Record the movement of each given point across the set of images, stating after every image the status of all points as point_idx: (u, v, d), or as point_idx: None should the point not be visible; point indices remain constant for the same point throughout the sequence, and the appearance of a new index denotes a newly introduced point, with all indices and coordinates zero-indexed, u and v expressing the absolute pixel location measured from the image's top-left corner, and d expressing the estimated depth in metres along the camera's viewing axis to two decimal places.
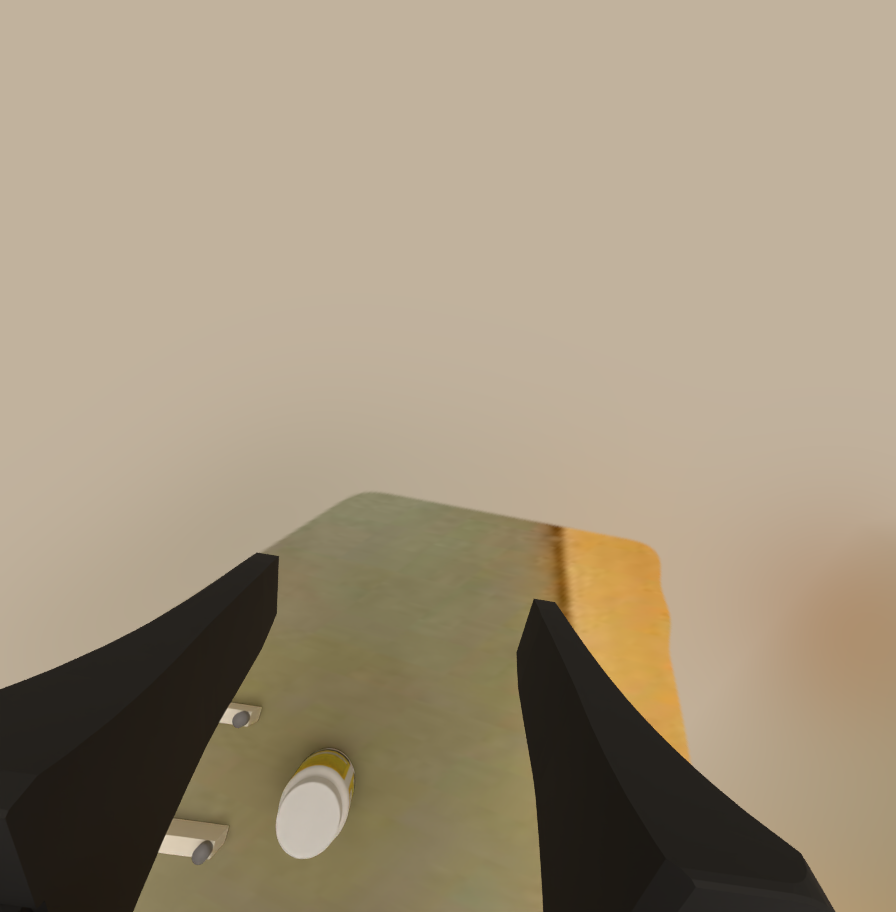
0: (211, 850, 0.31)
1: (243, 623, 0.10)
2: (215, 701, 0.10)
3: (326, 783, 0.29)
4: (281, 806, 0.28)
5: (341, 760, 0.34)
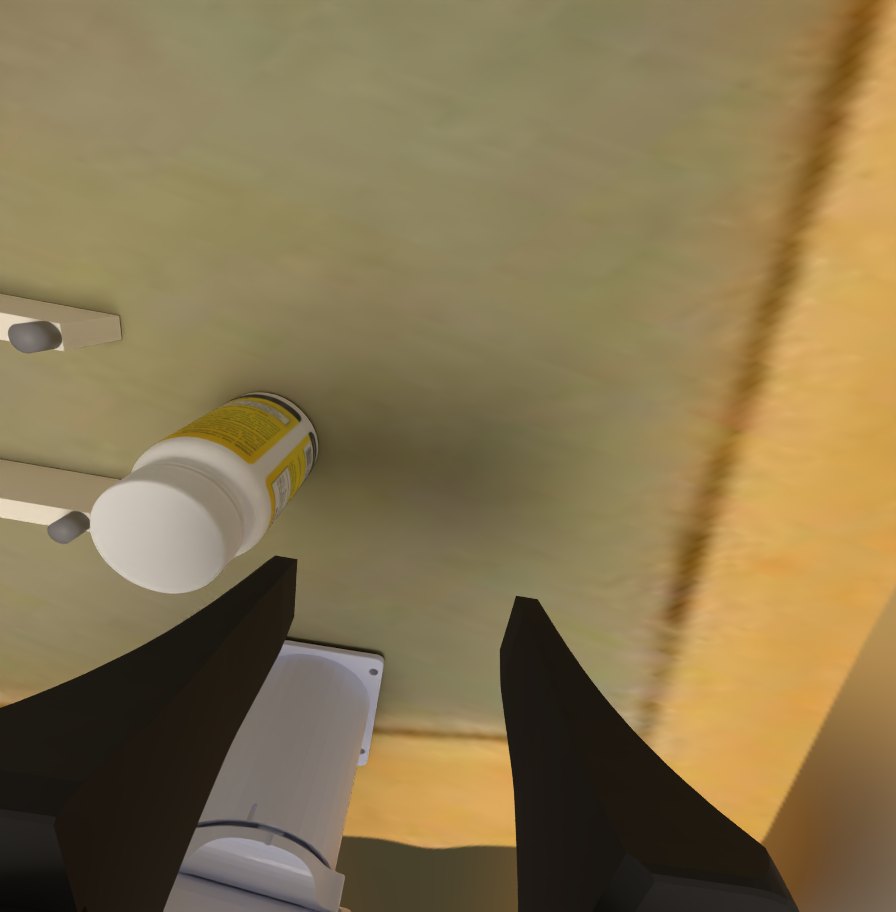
0: (86, 524, 0.19)
1: (264, 626, 0.10)
2: (238, 704, 0.10)
3: (183, 482, 0.13)
4: (91, 517, 0.13)
5: (270, 419, 0.18)
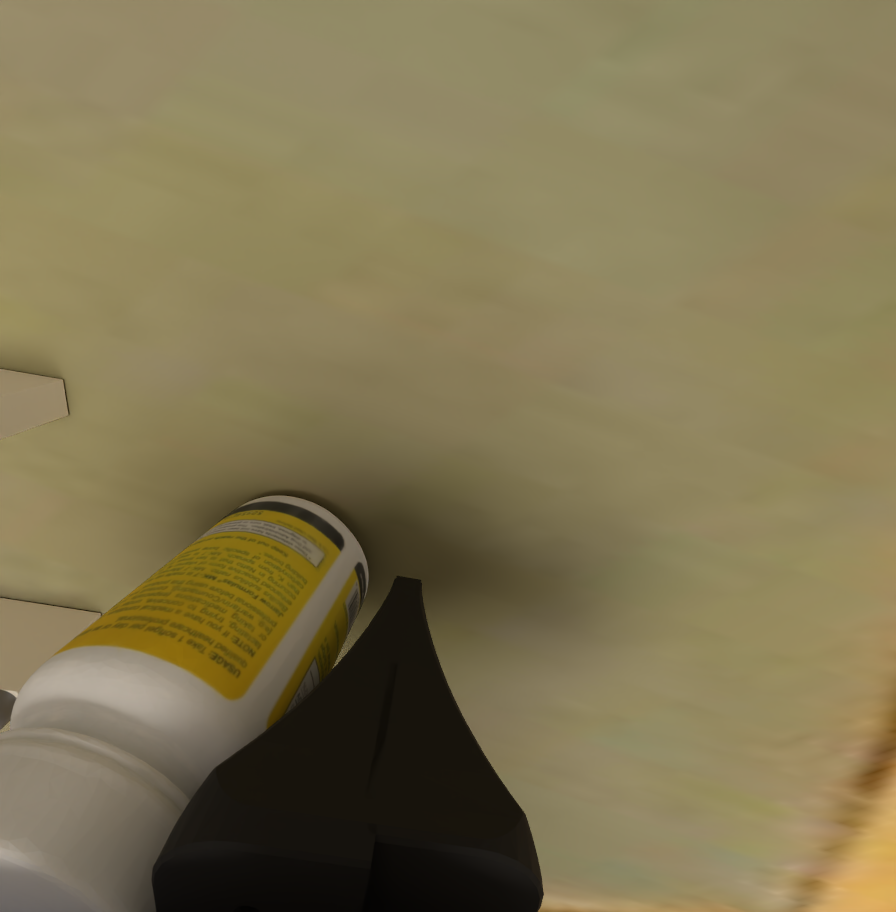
0: (11, 710, 0.12)
1: None
2: None
3: (58, 822, 0.05)
4: None
5: (292, 561, 0.10)
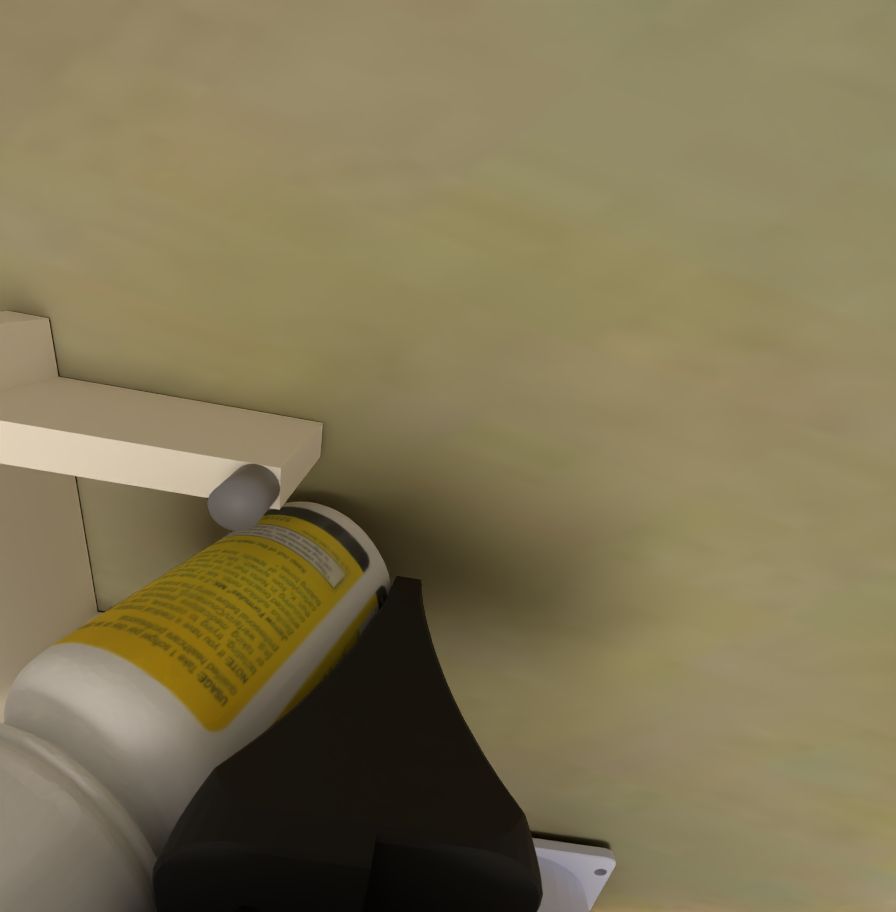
0: None
1: None
2: None
3: None
4: None
5: (308, 578, 0.10)
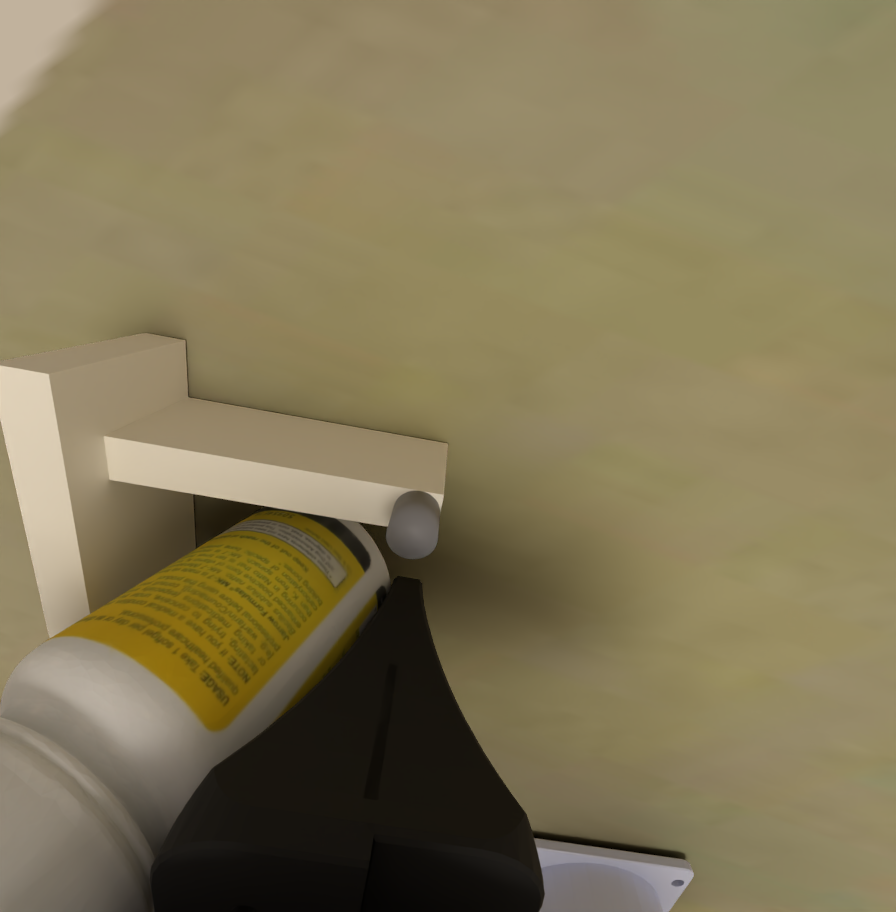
0: None
1: None
2: None
3: None
4: None
5: (311, 577, 0.10)
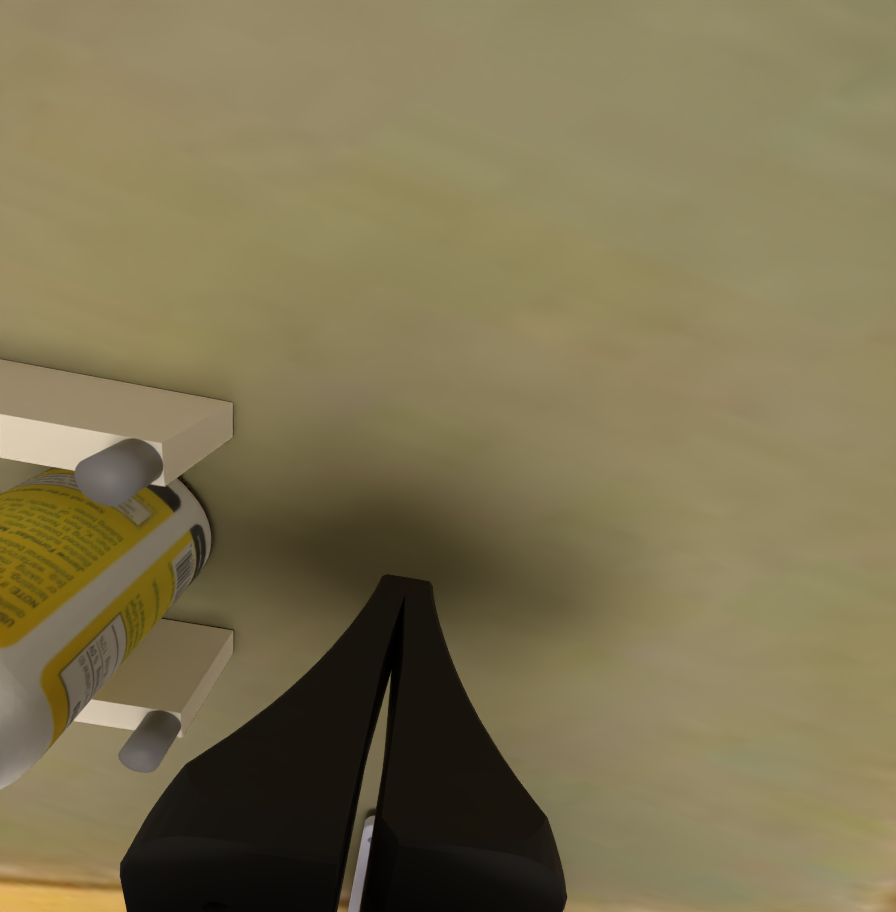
0: (175, 732, 0.12)
1: (392, 647, 0.10)
2: (373, 725, 0.10)
3: None
4: None
5: (108, 518, 0.10)
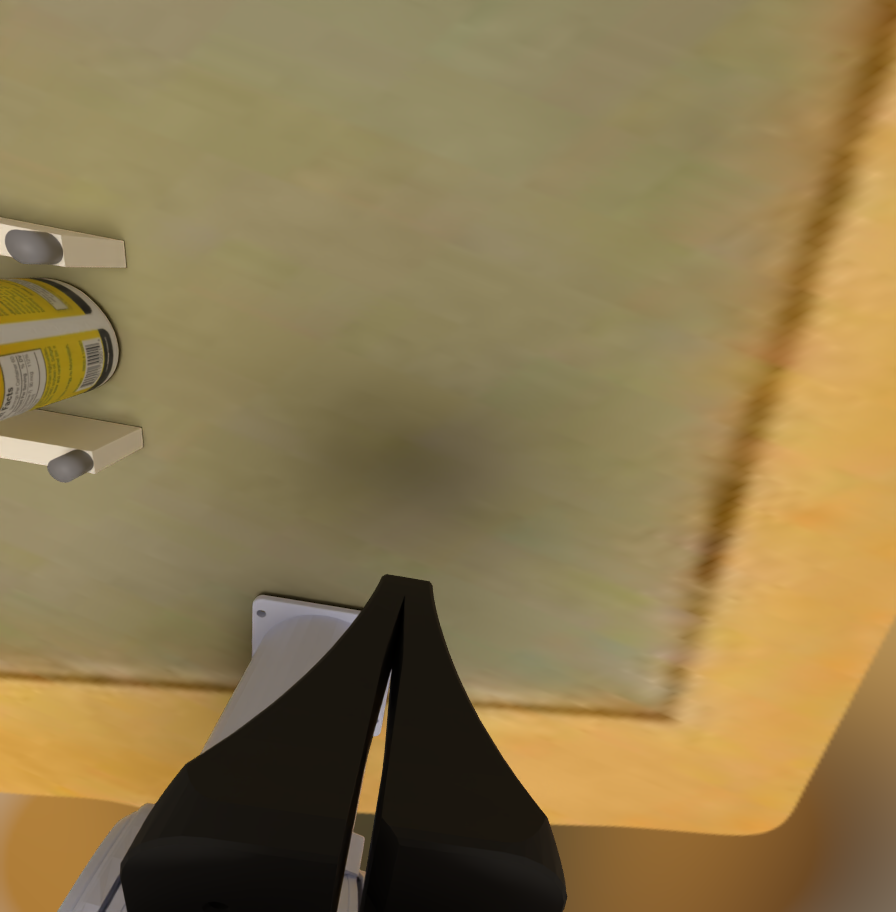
0: (88, 463, 0.18)
1: (391, 647, 0.10)
2: (373, 725, 0.10)
3: None
4: None
5: (35, 298, 0.16)
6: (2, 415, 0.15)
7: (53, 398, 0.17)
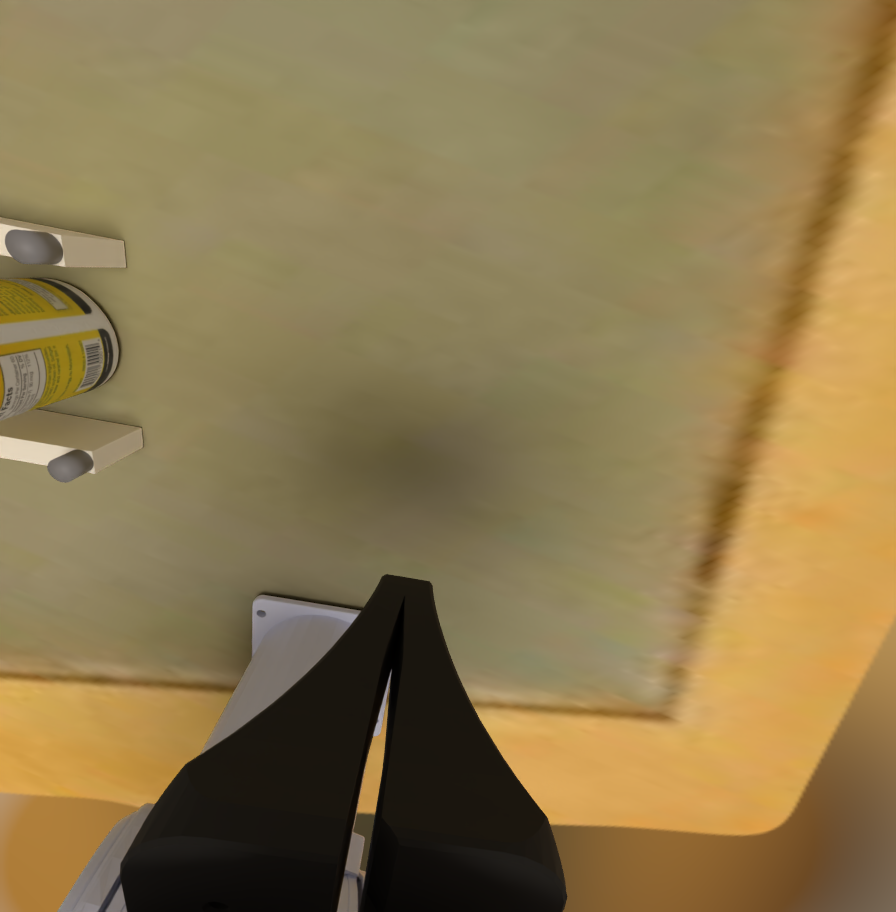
0: (88, 463, 0.18)
1: (391, 647, 0.10)
2: (373, 725, 0.10)
3: None
4: None
5: (35, 298, 0.16)
6: (2, 415, 0.15)
7: (53, 398, 0.17)
